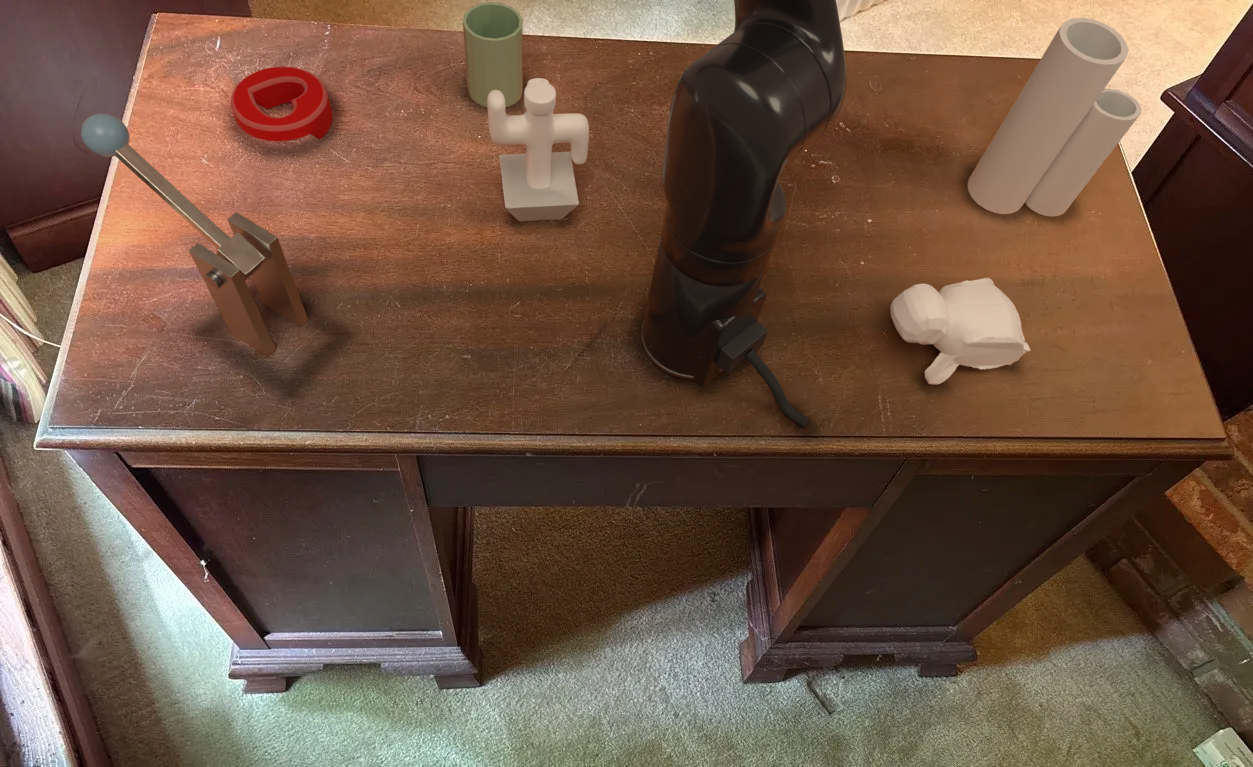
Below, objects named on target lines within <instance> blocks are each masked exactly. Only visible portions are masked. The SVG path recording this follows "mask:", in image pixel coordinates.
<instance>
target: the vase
mask: <svg viewBox="0 0 1253 767" xmlns="http://www.w3.org/2000/svg"><path fill="white" fill-rule="evenodd" d="M1128 53H1129V46H1128V44H1127V41H1126V40H1125V39H1124V37H1123V36H1122V34H1120V33H1119V32H1118V31H1117V30H1116V29H1115V28H1114V27H1111V26H1110V25H1108V24H1106V23H1105V22H1102V21H1100V20H1096V19H1095V18H1094V19H1093V18H1090V17H1089V18H1088V17H1072V18H1069V19H1067V20H1065V21H1064V22H1063V23H1062V24H1061V25H1060V26H1059V28H1058V30H1057V31H1056V33H1055V35H1054V36H1053V38H1052V40H1051V41H1050V43H1049V44H1048V46H1047V48H1046V50H1045V51H1044V53H1043V55H1042V56H1041V58H1040V59H1039V61H1038V63H1037V64H1036V66H1035V67H1034V70H1033V71H1032V73H1031V74H1030V76H1029V78H1028V79H1027V81H1026V83H1025V84H1024V86H1023V88H1022V89H1021V91H1020V92H1019V95H1018V96H1017V97H1016V100H1015V101H1014V103H1013V105H1012V106H1011V108H1010V110H1009V111H1008V113H1006V116H1005V118H1004V119H1003V121H1002V123H1001V124H1000V126H999V128H998V130H997V131H996V133H994V134H995V135H994V136H993V138H992V139H991V141H990V143H989V145H988V146H987V147H986V149H985V151H984V152H983V155H981V158H980V159H979V161H978V163H977V164H976V166H975V168H974V170H973V171H972V173H971V174H970V176H969V178H968V181H967V183H966V184H967V191H968V193H969V195H970V197H971V199H972V200H973V201H974V202H975V203H976V204H977V205H978V206H979V207H982V209H985V210H986V211H989V212H990V213H994V214H999V215H1000V214H1001V215H1010V214H1014V213H1016V212H1018V211H1019V210H1020V209H1021V208H1022V207H1023V206H1024V204H1025V205H1026V206H1027V207H1028V208H1029V209H1030V210H1031V211H1032V212H1034V213H1036V214H1038V215H1040V216H1045V217H1059V216H1061V215H1064V214H1065V213H1066V212H1067V211H1068V209H1069V208H1070V207H1071V205H1072V204H1073V203H1074V202H1075V200H1076V199H1077V198H1078V197H1079V195H1080V194H1081V193H1082V191H1083V190H1084V188H1085V187H1086V186H1087V185H1088V183H1089V182H1090V180H1091V179H1092V178H1093V177H1094V175H1095V174H1096V173H1097V171H1098V170H1099V169H1100V168H1101V167H1102V165H1103V164H1104V162H1105V161H1106V160H1107V158H1108V157H1109V156H1110V155H1111V154H1112V152H1113V150H1114V149H1115V148H1116V147H1117V145H1118V144H1119V143H1120V142H1121V141H1122V139H1123V138H1124V136H1125V135H1126V134H1127V133H1128V131H1129V130H1130V128H1132V126H1133V125H1134V124H1135V122H1136V121H1137V120H1138V118H1139V117H1140V116H1141V113H1142V107H1141V104H1140V103H1139V102H1138V100H1137V99H1136V98H1134V97H1133V96H1132V95H1130V94H1129V93H1127V92H1125V91H1122V90H1119V89H1116V88H1115V89H1113V88H1106V87H1107V86H1108V84H1109V83H1110V82H1111V80H1112V78H1113V77H1114V76H1115V74H1116V73H1117V71H1118V70H1119V69H1120V67H1121V66H1122V65H1123V63H1124V62H1125V60H1126V59H1127V58H1128V55H1129V54H1128Z"/></svg>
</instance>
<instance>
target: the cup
mask: <svg viewBox="0 0 1253 767" xmlns="http://www.w3.org/2000/svg"><path fill="white" fill-rule="evenodd" d="M462 19H463V20H462V29H463V43H464V44H463V45H464V46H463V47H464V58H465V59H464V60H465V70H466V71H465V72H466V73H465V74H466V85H467V86H466V87H467V92H468V95H469V97H470V98H471V100H472V101H473V102H474V103H476V104H477V105H479V106H481V107H484V108H487V98H488V94H489V93H490V92H491V91H492V90H499V91H500V92H502V94H503V95H504V98H505V108H508V107H511V106H513V105H515V104H517V103H518V102H519V101H520V99H521V98H522V96H523V94H524V91H523V90H524V26H523V25H524V24H523V23H524V20H523V18H522V16H521V14H520V12H519V11H517V10H516V9H514V7H513V6H510V5H507V4H506V3H505V4H504V3H503V2H502V3H501V2H491V1H489V2H482V3H477V4H476V5H473V6H471V7H469V8H468V10H467V11H466V12H465V13H464V14H463V18H462Z"/></svg>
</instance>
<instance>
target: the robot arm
mask: <svg viewBox="0 0 1253 767" xmlns="http://www.w3.org/2000/svg"><path fill="white" fill-rule="evenodd" d="M733 4H734V5H733V6H734V29H733V32H732V33H731V34H730V35H728V36H726V38H724V39H723V40H721V41H720V42H719V43H717V44H716V45H715V46H713V47H712V48H711V49H709V50H707V51H706V52H705V53H703V54H702V55H701V56H700V57H699V58H697V59H695V60H694V61H693V62H692V63H691V64H689V65H688V66H687V67H686V68H685V70H684V71H683V72H682V73H681V75H680V77H679V78H678V80H677V83H676V84H675V87H674V90H673V93H672V97H671V101H670V105H669V110H668V116H667V123H666V133H665V140H664V141H665V142H664V150H663V160H662V170H661V175H662V176H661V180H662V187H663V192H664V195H665V198H666V199H665V200H666V205H665V206H666V207H665V212H664V216H663V223H662V227H661V231H660V236H659V241H658V247H657V253H656V256H655V262H654V267H653V271H652V272H653V273H652V276H651V283H650V287H649V291H648V295H647V296H648V297H647V301H646V306H645V307H646V308H645V313H644V317H643V319H642V322H641V328H640V342H641V345H642V348H643V351H644V353H645V355H646V356H647V358H648V360H649V361H650V362H651V363H652V364H653V365H654V366H655V367H656V368H658V369H659V370H660V371H662V372H663V373H665V374H667V375H670V376H672V377H674V378H677V379H681V380H688V381H693V382H695V384H697V385H698V386H699V387H701V388H704V387H705V386H706V385H707V384H709V383H711V381H713V380H714V379H715V378H717V376H719V375H721V374H722V373H723V372H724V373H726V374H730V373H731V372H732V371H733V370H734V369H736V368H737V367H738V366H740V365H741V364H742V363H743V362H745V360H747V361H748V362H749V364H751V366H752V368H753V369H755V371H756V372H757V373H758V375H759V376H760V377H761V378H762V379H763V381H764V383H766V385H767V387H768V388H769V389H770V391H771V393H772V395H773V397H774V400H775V403H776V405H777V406H778V408H779V409H780V411H781V412H782V413H783V414H784V415H785V416H786V418H788V419H790V420H791V421H792V422H793V423H796V424H797V425H798V426H800V427H802V429H804V428H806V426H807V425H808V424H809V423H810V421H811V419H810V418H809V417H807V416H806V415H804V413H803V414H802V413H801V412H800V411H799V410H797V409H795V408H794V406H792V404H791V403H790V402H789V401H788V399H787V398H786V395H785V392H784V390H783V387H782V385H781V384H780V382H779V381H778V379H777V378H776V375H775V374H774V373H773V372H772V371H771V370H770V368H769V367H768V365H766V363H765V362H764V361H763V360H762V358H760V356H759V355H758V354H757V353H756V352H757V351H758V350H760V348H761V347H763V344H764V342H765V340H766V337H767V335H768V332H769V329H768V328H767V327H765V325H763V323H761V322H760V321H759V317H760V315H761V312H762V309H763V306H764V304H765V302H766V299H767V296H768V292H767V291H766V290H765V289H764V288H762V286H761V285H762V283H763V280H764V277H765V275H766V271H767V269H768V267H769V263H770V261H771V258H772V256H773V253H774V250H775V247H776V245H777V242H778V239H779V237H780V235H781V232H782V229H783V227H784V224H785V221H786V217H787V213H788V199H787V195H786V191H785V188H784V187H783V185H782V183H781V182H780V178H781V176H782V174H783V172H784V170H785V169H786V168H787V167H788V166H789V165H790V164H792V163H793V161H795V160H796V159H797V158H798V157H799V156H800V155H802V154H804V152H805V151H806V150H807V149H808V148H809V147H811V145H813V144H814V143H816V141H818V139H820V138H821V137H822V136H823V135H824V134H825V133H826V132H827V131H828V129H830V127H831V126H832V124H834V122H835V121H836V119H837V118H838V116H839V114H840V112H841V109H842V107H843V104H844V101H845V97H846V92H847V65H846V56H845V55H846V54H845V48H844V47H845V46H844V39H843V32H842V28H841V27H842V26H841V22H840V16H839V10H838V3H837V0H733Z"/></svg>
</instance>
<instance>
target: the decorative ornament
mask: <svg viewBox="0 0 1253 767" xmlns="http://www.w3.org/2000/svg"><path fill="white" fill-rule="evenodd" d="M283 104H291V108H292V111H291V112H290V113H288V114H287V115H285V116H277V117H276V116H271V115H269V114H267V113H265V112H264V111H263V110H262V109H261V108H260V107H262V108H263V109H265V110H269V109H272V108H274V107H277V106H281V105H283ZM230 108H231V111H232V114H233V116H234V119H235V121H236V123H237V125H238V126H239V128H240V129H241V130H243V131H244V132H245V133H246V134H247V135H249V136H251V137H254V138H256V139H260V140H263V141H270V142H288V141H294V140H297V139H298V140H299V139H301V138H304V137H306V136H308V135H311V136H312V137H314V138H316V139H317V140H321V139H322V138H323V137H325V135H326V134H327V133H328V131H329V130H330V128H331V126H332V123H333V117H334V116H333V110H332V106H331V102H330V98H329V93H328V90H327V87H326V85H325V84H324V82H323V81H322V80H321V79H320V78H319V77H317V76H316V75H315V74H313V73H311V72H310V71H307V70H305V69H302V68H299V67H294V66H270V67H266V68H261V69H259V70H256V71H254V72H252V73H250V74H248V75H246V76H245V77H244V78H243V79H242V80H240V81H239V82H238V83H237V84H236V86H235V87H234V88H233V91H232V93H231V97H230Z"/></svg>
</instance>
